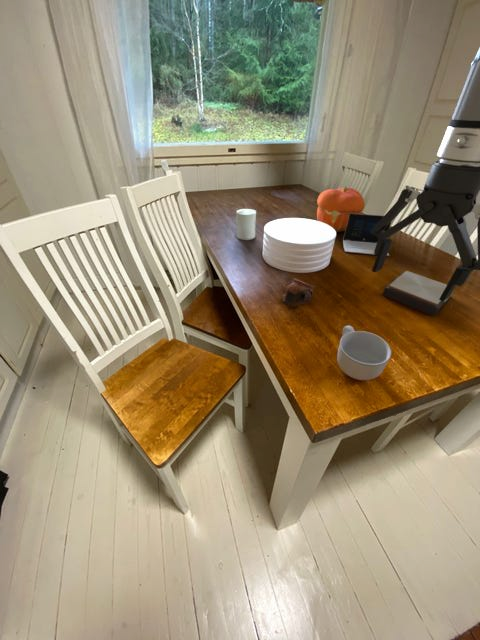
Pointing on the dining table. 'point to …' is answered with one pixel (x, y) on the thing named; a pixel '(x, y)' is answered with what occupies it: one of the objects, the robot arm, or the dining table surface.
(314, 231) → the plate stack
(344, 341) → the teacup
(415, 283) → the scale
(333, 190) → the pumpkin
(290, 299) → the pottery mug
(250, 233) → the can
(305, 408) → the dining table surface
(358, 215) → the laptop
